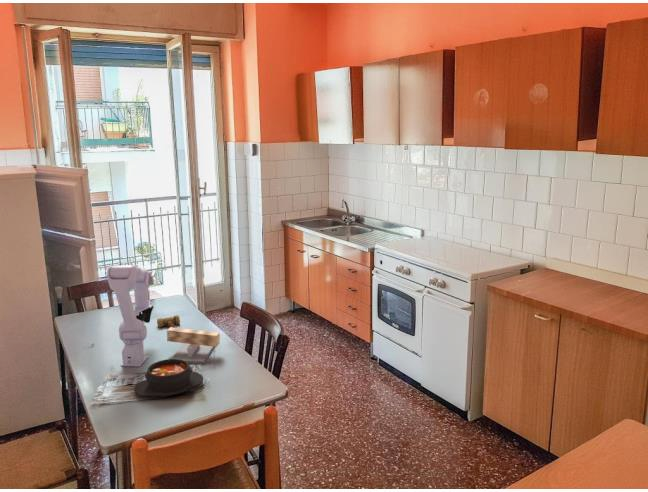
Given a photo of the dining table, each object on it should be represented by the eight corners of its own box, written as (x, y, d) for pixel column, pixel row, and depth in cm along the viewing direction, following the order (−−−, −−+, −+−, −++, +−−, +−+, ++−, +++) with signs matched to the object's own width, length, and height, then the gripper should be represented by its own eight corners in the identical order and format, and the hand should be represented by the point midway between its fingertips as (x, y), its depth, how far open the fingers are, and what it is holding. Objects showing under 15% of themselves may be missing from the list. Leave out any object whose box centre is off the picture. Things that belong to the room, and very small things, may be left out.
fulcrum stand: (203, 363, 222) (203, 352, 220) (170, 362, 222) (169, 351, 221) (215, 344, 241) (215, 334, 240) (185, 343, 242) (184, 333, 241)
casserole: (196, 371, 215) (195, 351, 213) (209, 391, 199) (208, 370, 197) (131, 384, 204) (129, 364, 202) (138, 407, 188) (137, 384, 186)
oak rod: (167, 341, 230) (167, 330, 229) (170, 338, 234) (170, 327, 233) (216, 346, 227) (216, 335, 226) (219, 343, 231) (219, 332, 230)
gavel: (189, 330, 250) (167, 334, 245) (189, 339, 251) (168, 343, 247) (177, 313, 268) (156, 317, 263) (177, 322, 269) (157, 325, 264)
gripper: (144, 301, 227) (146, 331, 230) (156, 291, 242) (158, 319, 245) (127, 301, 228) (130, 331, 231) (141, 290, 242) (143, 319, 245)
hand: (143, 325), depth 238 cm, fingers open, 7 cm apart
